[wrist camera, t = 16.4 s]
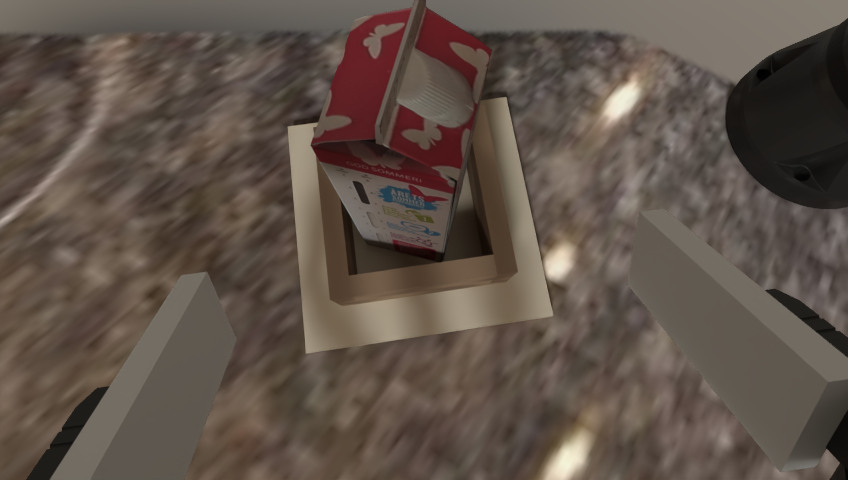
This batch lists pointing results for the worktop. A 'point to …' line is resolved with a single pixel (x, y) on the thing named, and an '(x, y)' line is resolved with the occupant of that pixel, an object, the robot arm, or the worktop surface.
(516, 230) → the birch collar board
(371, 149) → the juice carton
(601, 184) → the worktop surface
